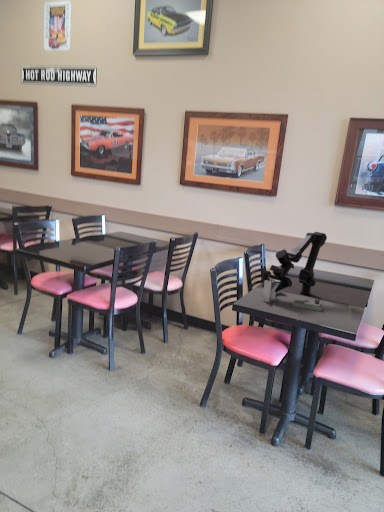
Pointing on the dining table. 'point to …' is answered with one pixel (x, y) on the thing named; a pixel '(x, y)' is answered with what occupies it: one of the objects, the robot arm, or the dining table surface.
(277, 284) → the medicine box
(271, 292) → the housing
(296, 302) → the press bed
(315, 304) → the ram
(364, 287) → the dining table surface
